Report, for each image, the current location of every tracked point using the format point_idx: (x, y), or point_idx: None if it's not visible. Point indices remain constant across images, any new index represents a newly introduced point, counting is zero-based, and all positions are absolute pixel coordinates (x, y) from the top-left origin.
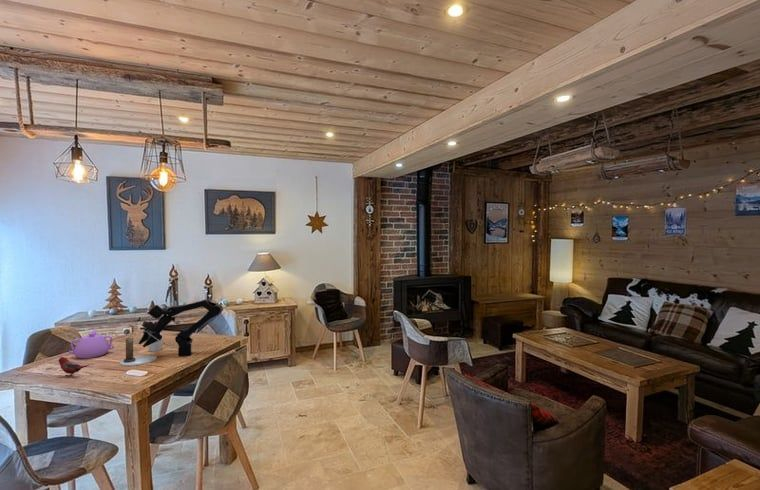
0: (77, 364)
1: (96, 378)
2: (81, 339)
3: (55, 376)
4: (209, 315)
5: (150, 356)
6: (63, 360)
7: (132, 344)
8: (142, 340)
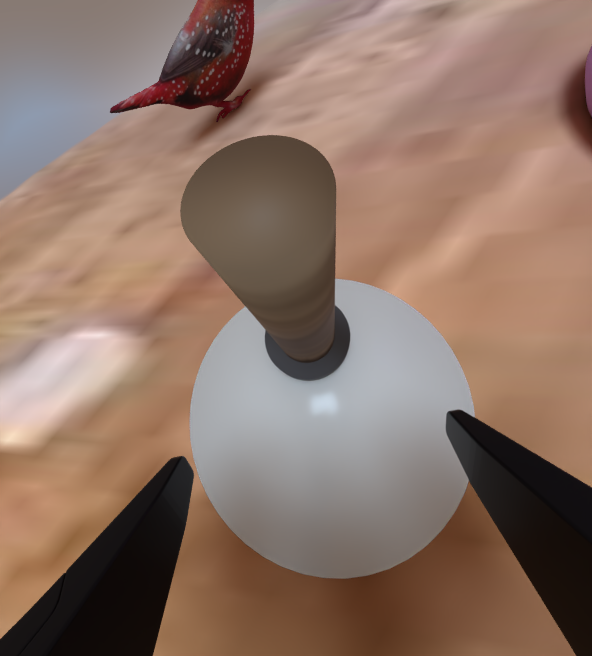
0: (169, 58)
1: (115, 207)
2: None
3: (275, 65)
4: None
5: (364, 518)
6: None
7: (248, 308)
8: (503, 494)
